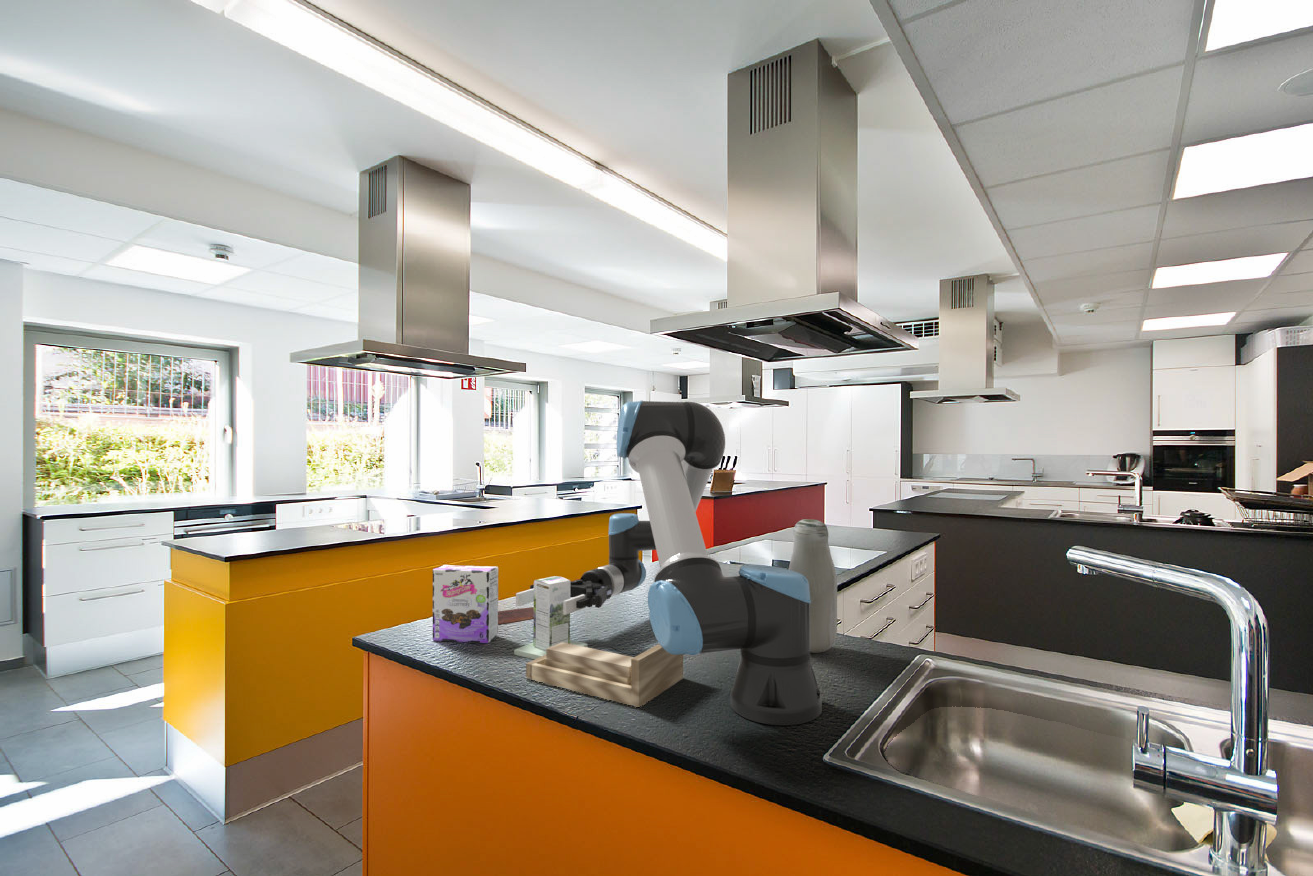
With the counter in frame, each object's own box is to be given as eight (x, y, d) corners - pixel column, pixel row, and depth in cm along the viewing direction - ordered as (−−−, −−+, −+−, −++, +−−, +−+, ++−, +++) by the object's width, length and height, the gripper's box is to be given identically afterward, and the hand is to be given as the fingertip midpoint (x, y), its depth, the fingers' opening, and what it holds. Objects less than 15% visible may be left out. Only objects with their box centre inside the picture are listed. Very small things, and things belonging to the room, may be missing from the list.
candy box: (431, 641, 140) (431, 568, 141) (444, 633, 146) (444, 563, 146) (488, 644, 138) (488, 570, 138) (499, 636, 144) (499, 565, 144)
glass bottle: (843, 648, 134) (841, 518, 134) (827, 662, 125) (825, 523, 125) (799, 640, 139) (798, 515, 139) (781, 653, 131) (780, 520, 131)
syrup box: (554, 640, 137) (553, 575, 137) (571, 646, 133) (570, 578, 133) (532, 646, 133) (532, 579, 133) (549, 653, 129) (549, 583, 129)
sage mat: (587, 648, 135) (587, 643, 135) (554, 663, 125) (554, 659, 125) (548, 640, 140) (548, 636, 140) (514, 654, 131) (514, 649, 131)
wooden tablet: (564, 600, 173) (579, 603, 165) (564, 608, 173) (579, 612, 164) (468, 615, 159) (479, 620, 151) (469, 624, 159) (480, 629, 150)
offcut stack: (645, 693, 111) (645, 659, 111) (631, 702, 107) (631, 667, 107) (560, 672, 121) (560, 641, 121) (544, 680, 117) (544, 648, 117)
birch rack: (683, 678, 117) (682, 635, 117) (638, 708, 104) (638, 660, 104) (577, 655, 130) (577, 617, 131) (526, 679, 117) (525, 637, 117)
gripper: (644, 606, 142) (586, 630, 124) (561, 593, 155) (498, 613, 136) (643, 573, 142) (586, 592, 124) (561, 563, 155) (498, 579, 136)
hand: (540, 603), depth 130 cm, fingers open, 12 cm apart
